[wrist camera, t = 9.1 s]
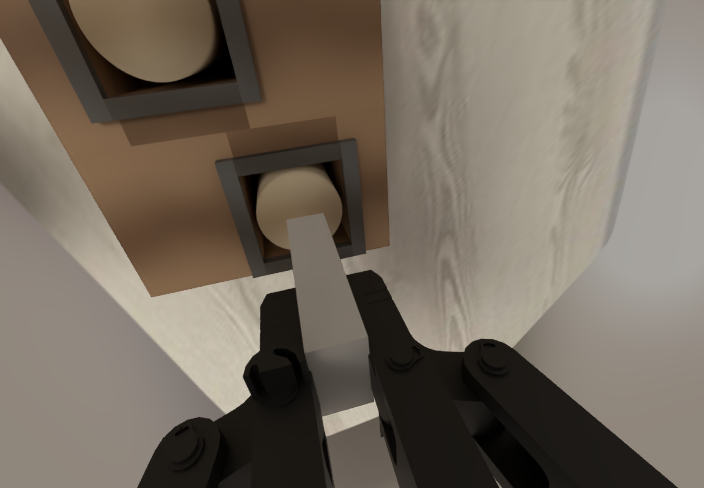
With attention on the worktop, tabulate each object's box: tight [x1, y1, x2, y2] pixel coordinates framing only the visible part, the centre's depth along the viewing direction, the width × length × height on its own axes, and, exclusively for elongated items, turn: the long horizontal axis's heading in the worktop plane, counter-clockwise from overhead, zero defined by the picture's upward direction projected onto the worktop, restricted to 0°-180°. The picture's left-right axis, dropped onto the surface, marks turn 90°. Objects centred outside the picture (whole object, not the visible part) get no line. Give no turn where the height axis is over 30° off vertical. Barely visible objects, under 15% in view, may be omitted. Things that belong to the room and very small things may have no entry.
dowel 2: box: [256, 163, 342, 250], centre depth 20 cm, size 4×4×8 cm
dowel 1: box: [69, 0, 228, 82], centre depth 15 cm, size 4×4×8 cm
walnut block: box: [0, 0, 390, 297], centre depth 18 cm, size 16×14×8 cm
